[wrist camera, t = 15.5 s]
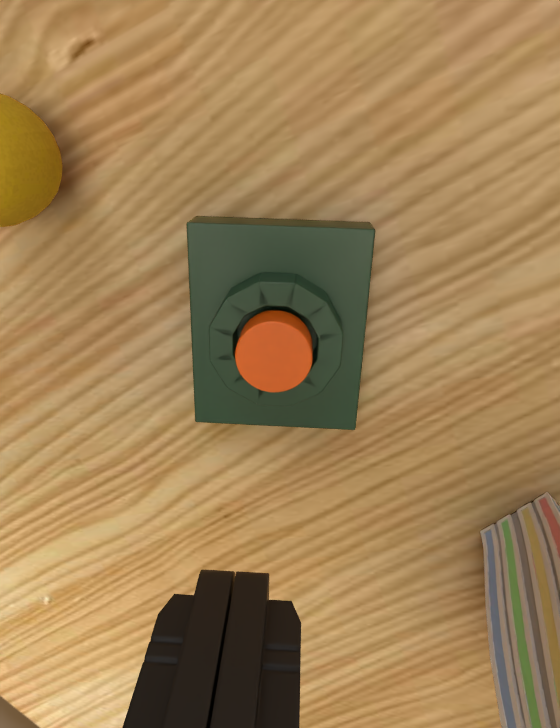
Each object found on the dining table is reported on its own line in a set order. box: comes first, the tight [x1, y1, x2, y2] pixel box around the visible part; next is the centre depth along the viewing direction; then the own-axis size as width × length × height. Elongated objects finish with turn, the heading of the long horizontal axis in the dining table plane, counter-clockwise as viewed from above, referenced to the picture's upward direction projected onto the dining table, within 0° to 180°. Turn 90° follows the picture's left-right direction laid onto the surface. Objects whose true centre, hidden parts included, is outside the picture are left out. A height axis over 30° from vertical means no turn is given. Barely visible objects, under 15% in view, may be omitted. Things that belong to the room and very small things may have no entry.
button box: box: [187, 216, 375, 430], centre depth 27 cm, size 11×9×4 cm
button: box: [235, 310, 313, 392], centre depth 25 cm, size 4×4×2 cm
